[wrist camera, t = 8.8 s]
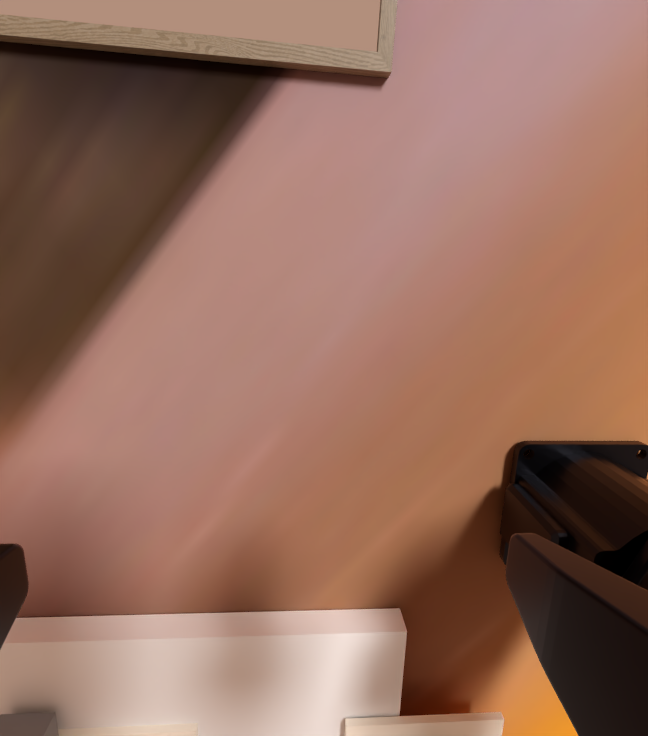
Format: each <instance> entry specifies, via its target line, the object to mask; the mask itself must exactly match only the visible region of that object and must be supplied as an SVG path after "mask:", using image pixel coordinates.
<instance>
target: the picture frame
mask: <svg viewBox="0 0 648 736" xmlns="http://www.w3.org/2000/svg"><path fill="white" fill-rule="evenodd" d="M396 11H397V0H0V41H4V42H14V43H25V44H35V45H46V46H57V47H67V48H78V49H88V50H99V51H109V52H120V53H130V54H141V55H151V56H162V57H173V58H183V59H194V60H204V61H215V62H225V63H236V64H246V65H257V66H267V67H278V68H289V69H299V70H310V71H320V72H331V73H341V74H352V75H362V76H373V77H383V78H388V77H389V75H390V74H391V71H392V59H393V47H394V35H395V23H396Z"/></svg>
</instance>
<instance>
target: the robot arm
mask: <svg viewBox="0 0 648 736" xmlns="http://www.w3.org/2000/svg"><path fill="white" fill-rule="evenodd" d="M528 449H530V452H529V454H527V455H525V456H524V455H523V454H524V452H525V451H526V450H528ZM639 450H640V453H639V454H638V455H636V454H637V452H638V451H639ZM647 473H648V445H646V444H644V443H642V442H639V441H522V442H520V443H519V444H518V445H517V446H516V447H515V450H514V457H513V464H512V471H511V478H510V484H509V485H508V486H507V488H506V492H505V499H504V506H503V513H502V520H501V528H500V534H501V535H502V541H501V548H500V558H501V559H502V561H503V562H504V564H505V565H506V580H507V584H508V586H509V589H510V591H511V594H512V596H513V598H514V601H515V603H516V606H517V608H518V611H519V613H520V615H521V618H522V620H523V623H524V625H525V628H526V630H527V632H528V635H529V637H530V640H531V642H532V645H533V647H534V649H535V652H536V654H537V656H538V658H539V661H540V663H541V665H542V667H543V669H544V671H545V673H546V675H547V677H548V679H549V681H550V683H551V684H552V686H553V688H554V690H555V692H556V694H557V696H558V698H559V700H560V701H561V703H562V705H563V707H564V709H565V711H566V713H567V715H568V717H569V718H570V720H571V722H572V724H573V726H574V728H575V730H576V732H577V734H578V736H648V480H647V479H646V478H647ZM27 592H28V576H27V570H26V563H25V556H24V551H23V548H22V547H21V546H20V545H19V544H0V650H1V648H2V646H3V644H4V641H5V639H6V637H7V635H8V633H9V631H10V629H11V627H12V625H13V623H14V621H15V619H16V617H17V615H18V613H19V611H20V609H21V607H22V605H23V603H24V601H25V598H26V596H27Z"/></svg>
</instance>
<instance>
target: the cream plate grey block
mask: <svg viewBox="0 0 648 736" xmlns="http://www.w3.org/2000/svg"><path fill="white" fill-rule="evenodd" d="M503 725H504V718H503V715H502V713H501V712H485V713H463V714H440V715H417V716H394V717H371V718H348V719H345V733H344V736H502V731H503Z"/></svg>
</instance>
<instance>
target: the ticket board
mask: <svg viewBox="0 0 648 736" xmlns="http://www.w3.org/2000/svg"><path fill="white" fill-rule="evenodd" d="M406 638H407V630H406V626H405V623H404V620H403V617H402V613H401V610H400V608H389V609H349V610H310V611H270V612H231V613H192V614H152V615H113V616H73V617H34V618H16V619H15V621H14V623H13V625H12V627H11V629H10V631H9V633H8V635H7V637H6V639H5V641H4V644H3V646H2V648H1V650H0V736H344V733H345V719H348V718H371V717H394V716H399V715H400V704H401V693H402V682H403V671H404V660H405V649H406Z"/></svg>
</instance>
